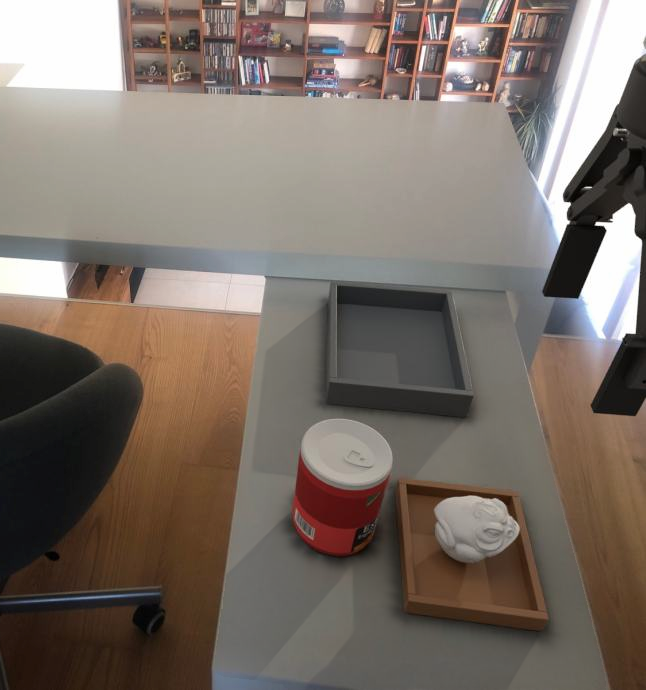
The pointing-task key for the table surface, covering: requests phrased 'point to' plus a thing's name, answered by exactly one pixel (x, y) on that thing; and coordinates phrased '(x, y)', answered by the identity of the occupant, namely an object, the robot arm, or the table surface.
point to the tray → (465, 578)
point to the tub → (396, 350)
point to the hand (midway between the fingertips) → (583, 347)
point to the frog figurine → (474, 527)
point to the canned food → (340, 485)
